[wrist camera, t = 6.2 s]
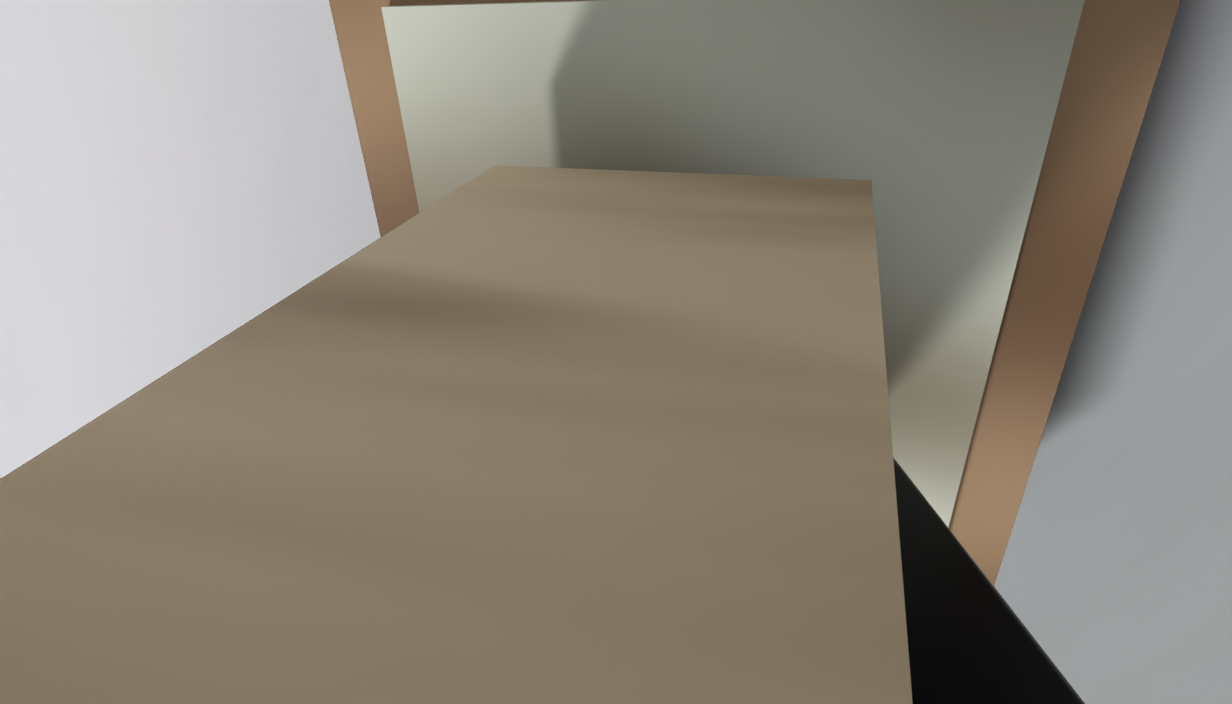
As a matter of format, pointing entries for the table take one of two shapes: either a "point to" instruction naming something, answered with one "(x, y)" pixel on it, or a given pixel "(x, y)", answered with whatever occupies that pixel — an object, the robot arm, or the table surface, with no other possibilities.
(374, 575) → the oak block
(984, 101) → the picture frame
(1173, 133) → the table surface
